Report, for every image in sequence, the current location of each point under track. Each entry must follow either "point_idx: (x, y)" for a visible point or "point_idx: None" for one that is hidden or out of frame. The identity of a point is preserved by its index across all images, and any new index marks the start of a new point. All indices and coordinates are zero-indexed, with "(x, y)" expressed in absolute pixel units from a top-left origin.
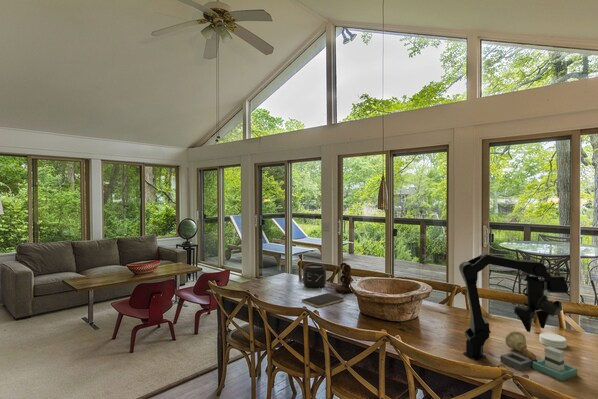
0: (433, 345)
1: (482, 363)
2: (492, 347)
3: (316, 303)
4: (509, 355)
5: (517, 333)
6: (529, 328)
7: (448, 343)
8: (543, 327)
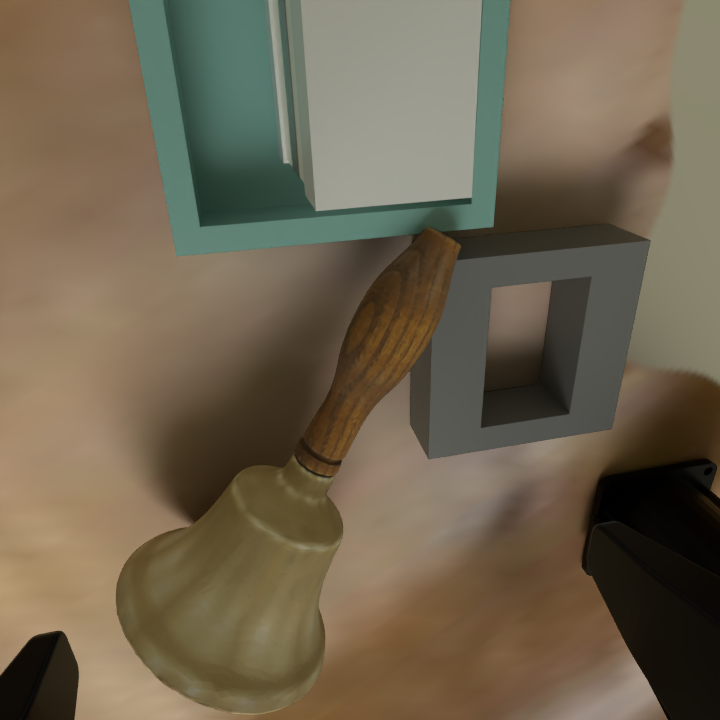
0: None
1: (715, 413)
2: (381, 594)
3: None
4: (521, 417)
5: (233, 679)
6: (714, 575)
7: (601, 671)
8: (57, 650)
